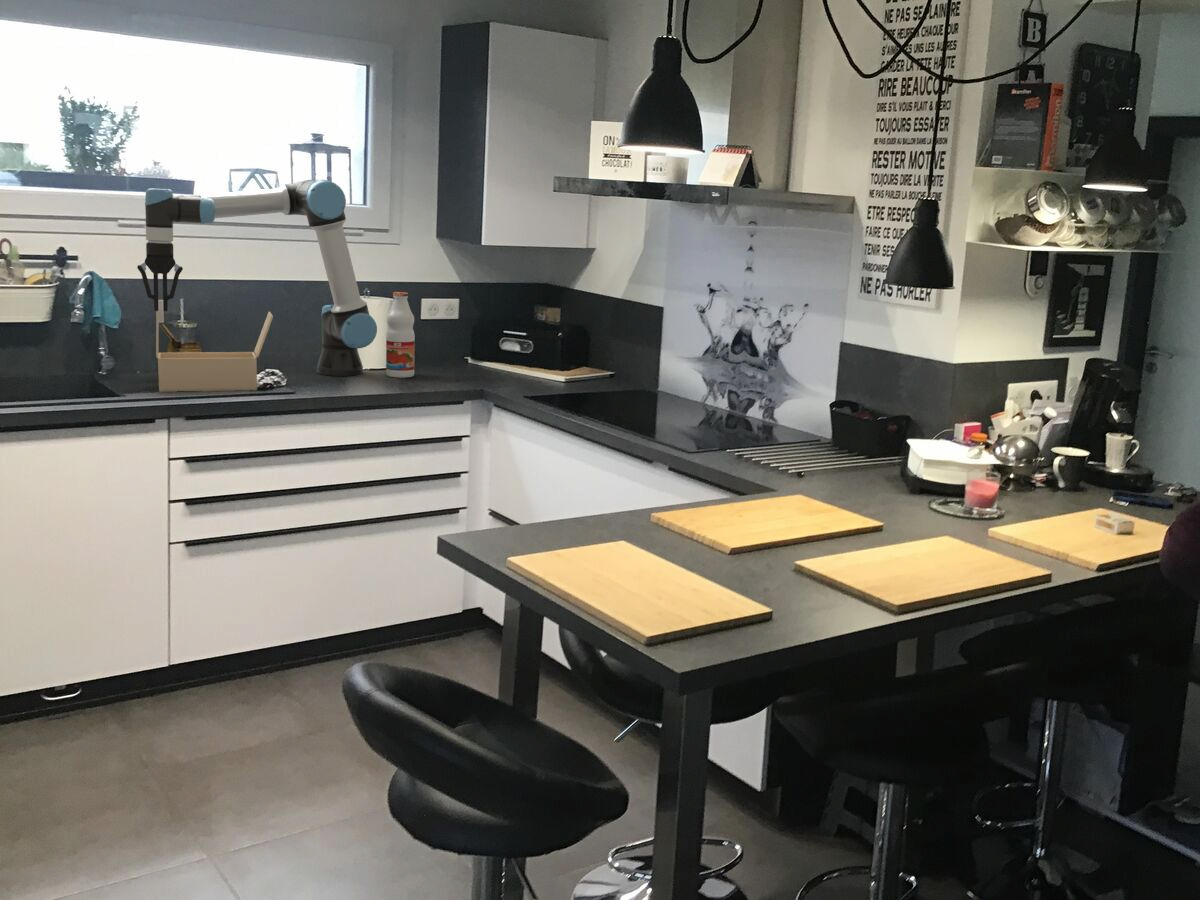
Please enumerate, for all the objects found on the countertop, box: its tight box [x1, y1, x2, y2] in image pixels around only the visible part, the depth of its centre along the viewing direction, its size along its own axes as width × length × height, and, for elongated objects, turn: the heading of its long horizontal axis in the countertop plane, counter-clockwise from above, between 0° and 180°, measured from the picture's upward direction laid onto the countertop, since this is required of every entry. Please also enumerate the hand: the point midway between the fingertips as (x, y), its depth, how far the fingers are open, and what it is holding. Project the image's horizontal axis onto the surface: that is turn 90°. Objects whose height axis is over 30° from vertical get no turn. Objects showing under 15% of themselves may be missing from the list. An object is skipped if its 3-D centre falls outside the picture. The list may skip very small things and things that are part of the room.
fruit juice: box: [385, 291, 416, 379], centre depth 395 cm, size 9×9×28 cm
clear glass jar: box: [159, 323, 203, 353], centre depth 374 cm, size 9×14×18 cm, turn 105°
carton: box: [157, 351, 258, 393], centre depth 360 cm, size 28×13×10 cm, turn 109°
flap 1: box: [155, 311, 160, 358], centre depth 352 cm, size 13×12×1 cm
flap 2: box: [253, 311, 274, 358], centre depth 363 cm, size 13×12×1 cm
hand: (161, 322), depth 352 cm, fingers closed
